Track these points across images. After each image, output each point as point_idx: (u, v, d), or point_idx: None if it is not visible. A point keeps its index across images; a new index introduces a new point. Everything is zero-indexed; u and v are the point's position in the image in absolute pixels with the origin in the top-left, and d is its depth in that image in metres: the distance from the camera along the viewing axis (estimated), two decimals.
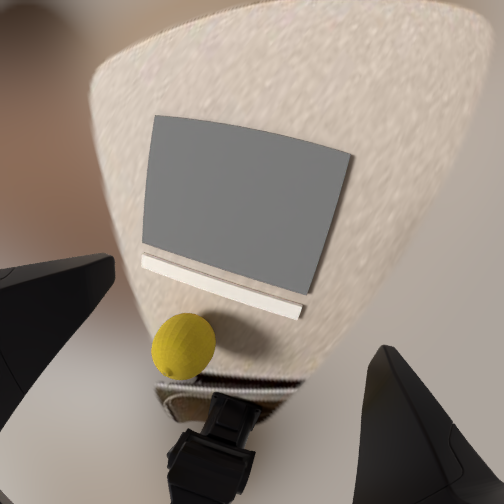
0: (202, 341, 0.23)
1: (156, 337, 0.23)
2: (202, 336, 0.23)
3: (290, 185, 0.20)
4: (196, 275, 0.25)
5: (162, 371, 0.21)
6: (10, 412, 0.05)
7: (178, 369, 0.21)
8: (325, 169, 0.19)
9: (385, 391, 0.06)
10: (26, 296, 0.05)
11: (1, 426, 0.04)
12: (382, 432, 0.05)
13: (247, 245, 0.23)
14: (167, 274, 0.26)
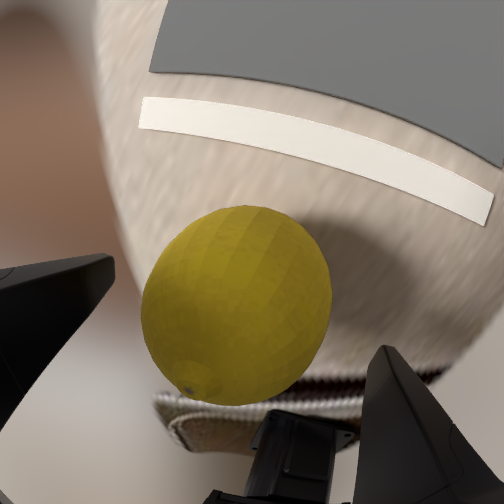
0: (318, 267, 0.07)
1: (160, 260, 0.07)
2: (315, 253, 0.07)
3: None
4: (274, 118, 0.10)
5: (181, 382, 0.05)
6: (10, 412, 0.05)
7: (247, 371, 0.05)
8: None
9: (385, 391, 0.06)
10: (26, 296, 0.05)
11: (1, 426, 0.04)
12: (382, 432, 0.05)
13: (399, 48, 0.07)
14: (197, 129, 0.11)
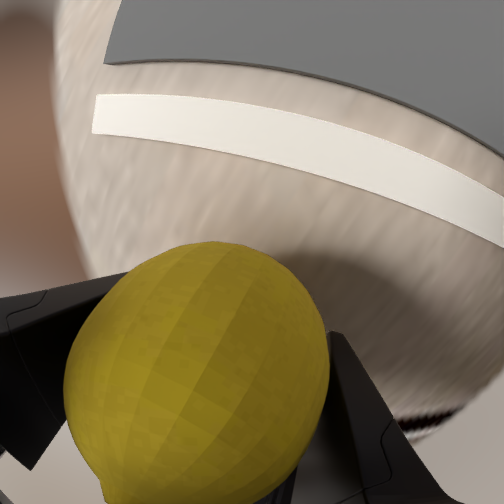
0: (309, 352, 0.04)
1: (79, 334, 0.04)
2: (305, 327, 0.05)
3: None
4: (255, 113, 0.07)
5: (109, 503, 0.02)
6: (44, 445, 0.05)
7: None
8: None
9: None
10: (66, 325, 0.05)
11: (35, 461, 0.04)
12: None
13: (423, 23, 0.05)
14: (157, 131, 0.08)
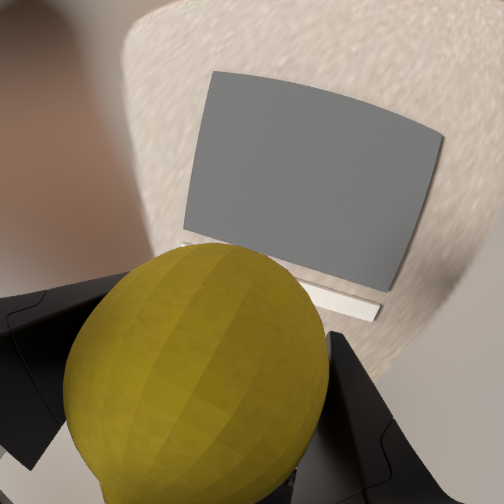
0: (309, 353, 0.04)
1: (78, 335, 0.04)
2: (304, 329, 0.05)
3: (381, 162, 0.16)
4: None
5: None
6: (44, 445, 0.05)
7: None
8: (418, 147, 0.15)
9: None
10: (66, 325, 0.05)
11: (35, 461, 0.04)
12: None
13: (326, 232, 0.18)
14: None
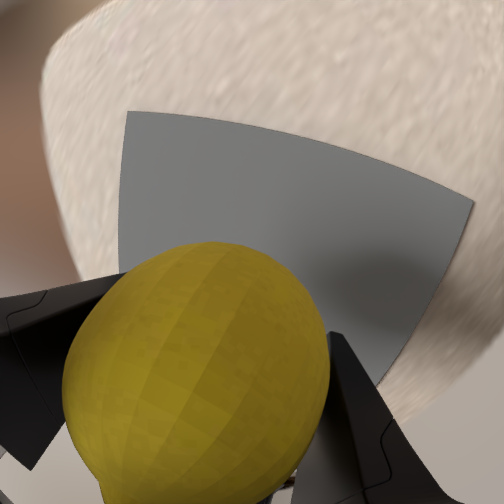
0: (310, 352, 0.04)
1: (78, 334, 0.04)
2: (305, 327, 0.05)
3: (375, 249, 0.11)
4: None
5: None
6: (44, 445, 0.05)
7: None
8: (434, 224, 0.10)
9: None
10: (66, 325, 0.05)
11: (35, 461, 0.04)
12: None
13: None
14: None
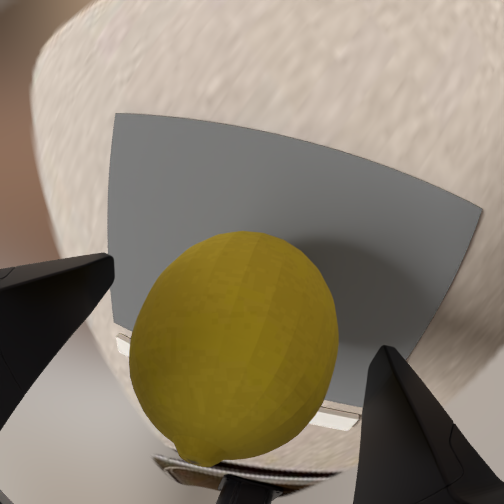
0: (326, 313, 0.06)
1: (143, 317, 0.06)
2: (321, 295, 0.06)
3: (378, 261, 0.10)
4: None
5: (184, 455, 0.04)
6: (10, 411, 0.05)
7: (254, 442, 0.04)
8: (441, 234, 0.09)
9: (385, 391, 0.06)
10: (26, 296, 0.05)
11: (1, 426, 0.04)
12: (383, 432, 0.05)
13: None
14: None
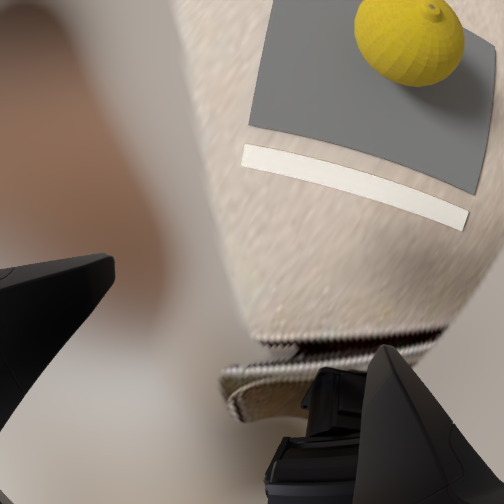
0: None
1: None
2: None
3: None
4: (338, 168, 0.16)
5: (426, 2, 0.05)
6: (10, 412, 0.05)
7: (449, 12, 0.05)
8: (479, 53, 0.10)
9: (385, 391, 0.06)
10: (26, 296, 0.05)
11: (1, 426, 0.04)
12: (382, 432, 0.05)
13: (414, 123, 0.14)
14: (288, 172, 0.17)
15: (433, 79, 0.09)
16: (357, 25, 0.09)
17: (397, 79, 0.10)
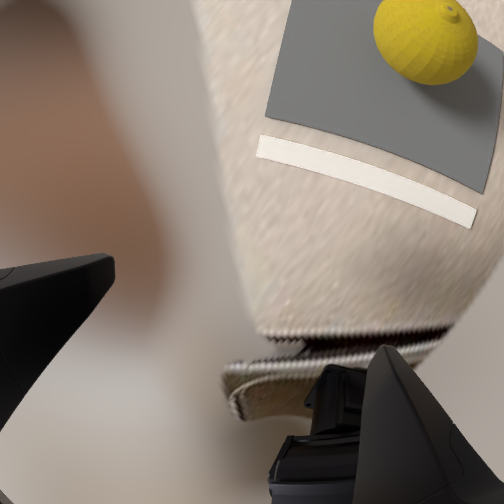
0: None
1: None
2: None
3: None
4: (352, 162, 0.16)
5: (445, 4, 0.05)
6: (10, 412, 0.05)
7: (465, 15, 0.05)
8: (488, 58, 0.10)
9: (385, 391, 0.06)
10: (26, 296, 0.05)
11: (1, 426, 0.04)
12: (382, 432, 0.05)
13: (426, 121, 0.14)
14: (303, 164, 0.17)
15: (448, 77, 0.09)
16: (377, 23, 0.09)
17: (414, 76, 0.10)
